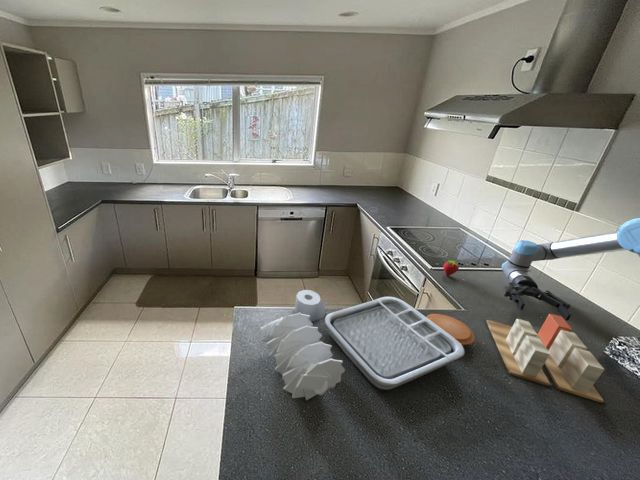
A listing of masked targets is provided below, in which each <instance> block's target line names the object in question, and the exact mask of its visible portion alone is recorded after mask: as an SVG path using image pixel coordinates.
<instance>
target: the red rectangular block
mask: <svg viewBox="0 0 640 480" xmlns="http://www.w3.org/2000/svg"><path fill="white" fill-rule="evenodd" d="M567 322H568V321H567V320H565V319H564V318H563V316H562V315H557V314H553V313H548V315H547V317H546V319H545V320H544V321H543V324H542V326H541V327H540V329H539V331H538V332H537V333H538V334H537V335H538V336H539V338H540V339H541V341H542V342H543V344H544V346H545V347H546V348H549V349H550V347H551V346H552V344H553V342H554V341H555V339H556V337H557V336H558V334H559V332H560V331H561V330H564V331H568V332H572V330H573V328H572V327H571V326H570V324H568V323H567Z"/></svg>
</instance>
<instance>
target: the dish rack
mask: <svg viewBox="0 0 640 480" xmlns="http://www.w3.org/2000/svg"><path fill="white" fill-rule="evenodd" d="M324 317H325V318H324V324H325V325H326V327H327V330H328V334H329V335H330V336H331V338H332V339H333V341H334V342H336V344H337V345H338V347H340V349H341V350H342V352H344V353H345V355H346V356H347V357H348V358H349V359H350V361H351V362H352V363H353V364H354V365H355V367H356V368H357V369H359V371H360V372H361V373H362V374H363V375H364V376H365V378H367V380H368V381H369V382H370V383H371V384H372V385H374V387H376V388H378V389H380V390H385V391H386V390H392V389H395V388H398V387H400V386H402V385H405V384H407V383H409V382H412V381H414V380H415V379H417V378H420V377H422V376H424V375H427V374H430V373H431V372H434V371H436V370H438V369H440V368H443V367H445V366H447V365H448V364H450V363H452V362H454V361H456V360H459V359H462V357H463V356H464V355H465V348H464V346H462V345H461V343H459V342H458V341H457V340H456V339H455V338H453V337H452V336H451V335H450V334H448V333H447V332H446V331H444V330H443V329H441V328H440V327H439V326H437V325H436V324H435V323H433V322H432V321H431V320H429V319H428V318H426V317H427V316H425V315H424V314H423V313H421V312H420V311H418V310H417V309H415V307H413V306H411V305H410V304H408V303H407V302H405V301H404V300H402V299H400V298H397V297H394V296H382V297H379V298H375V299H374V300H370V301H367V302H363V303H360V304H357V305H353V306H350V307H347V308H343V309H339V310H336V311H333V312H330V313H328V314H326V315H325V316H324Z"/></svg>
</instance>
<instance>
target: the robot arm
mask: <svg viewBox="0 0 640 480" xmlns="http://www.w3.org/2000/svg"><path fill="white" fill-rule="evenodd" d="M623 251H628V252H631V253H634V254H636V255H638V257H639V258H640V217H637V218H633V219H630V220H628V221H625V222H624V223H623V224H621V225H620V226H619V227H618V230H616V231H610V232H604V233H598V234H593V235H587V236H580V237H575V238H570V239H564V240H558V241H551V242H546V243H538V244H537V243H536V242H533V241H530V240H525V239H521V240H518V241H517V242H516V243H515V246H514V247H513V249H512V252H511V254H510V256H509V259H508V260H506V261H505V262H503V263H502V264H501V270H502V273H503V275H504V276H505V277H506V279H508V281H509V282H508V285H507V287H506V288H507V289H506V290H505V292H504V293H503V294H504V295H503V296H504V297H506V298H508V297H509V298H508V300H509V301H512V302H514V303H515V304H516V305H517V307H518V309H519V310H524V308H525V305H526V303H525V301H524V300H523V299H522V298H521V297H523V296H527V297H531V298H534V299H536V300H539V301H542V302H545V303H546V304H548V305H550V306H552V307H554V308H555V309H556V310H557V312H558V313H559V314H560V316H561V317H562V318H563V319H564V320H565V321H566V322H568V321H569V320H570V319H571V317H572V313H571V312H570V310H569V309H570V308H571V304H569V303H568V302H566V301H564V300H563V299H561V298H559V297H558V296H556V295H555V294H553V293H552V292H551V291H549V290H545V291H544V290H543V291H542V290H541V289H540V288H539V287H538V286H539V285H538V283H537V282H536V281H535V280H534V279H533V277H532V276H531V275H530V274H529V273H528V271H529V269H530V268H531V265H532V263H533V262H540V261H552V260H559V259H566V258H573V257H583V256H592V255H599V254H606V253H613V252H623ZM513 290H515V291H513Z"/></svg>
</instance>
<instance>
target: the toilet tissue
mask: <svg viewBox="0 0 640 480" xmlns="http://www.w3.org/2000/svg"><path fill="white" fill-rule="evenodd" d="M321 300H322V298H321V297H320V294H319V293H317V292H316V291H314V290H310V289H303V290H299V291H298V292H297V293H296V295H295V304H294V306H295V307H294V313H293V314H296V313H299V312H300V313H301V314H305V315H310V317H309V320H310V321H311V322H312V323H313V322H316V321H319V320H322V319H323V318H324V317H326V300H322V301H321Z"/></svg>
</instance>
